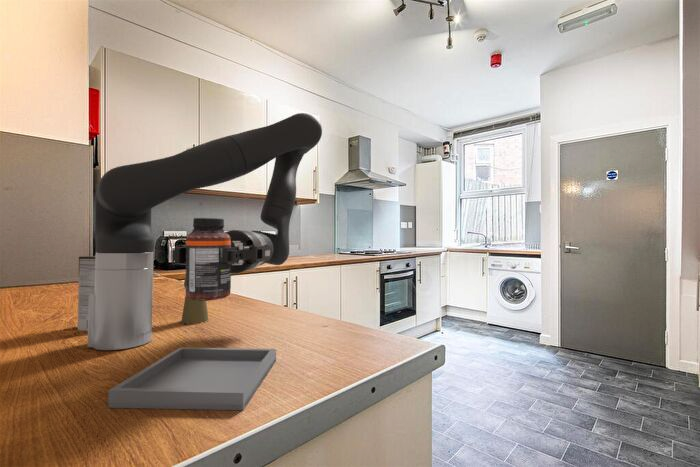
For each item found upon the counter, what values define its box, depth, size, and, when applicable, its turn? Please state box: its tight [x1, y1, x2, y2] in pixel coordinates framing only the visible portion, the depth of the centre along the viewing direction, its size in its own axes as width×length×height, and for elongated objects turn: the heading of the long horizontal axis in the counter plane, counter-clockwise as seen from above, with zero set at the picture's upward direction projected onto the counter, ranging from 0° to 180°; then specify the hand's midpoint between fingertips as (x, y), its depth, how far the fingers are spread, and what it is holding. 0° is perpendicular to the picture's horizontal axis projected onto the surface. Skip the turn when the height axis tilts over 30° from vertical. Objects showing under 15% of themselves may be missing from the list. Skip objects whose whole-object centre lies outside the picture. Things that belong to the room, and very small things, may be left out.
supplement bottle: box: [185, 217, 232, 302], centre depth 48 cm, size 6×6×11 cm
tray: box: [107, 346, 277, 411], centre depth 47 cm, size 16×16×2 cm
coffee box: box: [77, 255, 95, 332], centre depth 76 cm, size 9×6×16 cm
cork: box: [180, 278, 209, 325], centre depth 82 cm, size 6×6×11 cm
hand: (201, 256), depth 45 cm, fingers closed on supplement bottle, 6 cm apart
